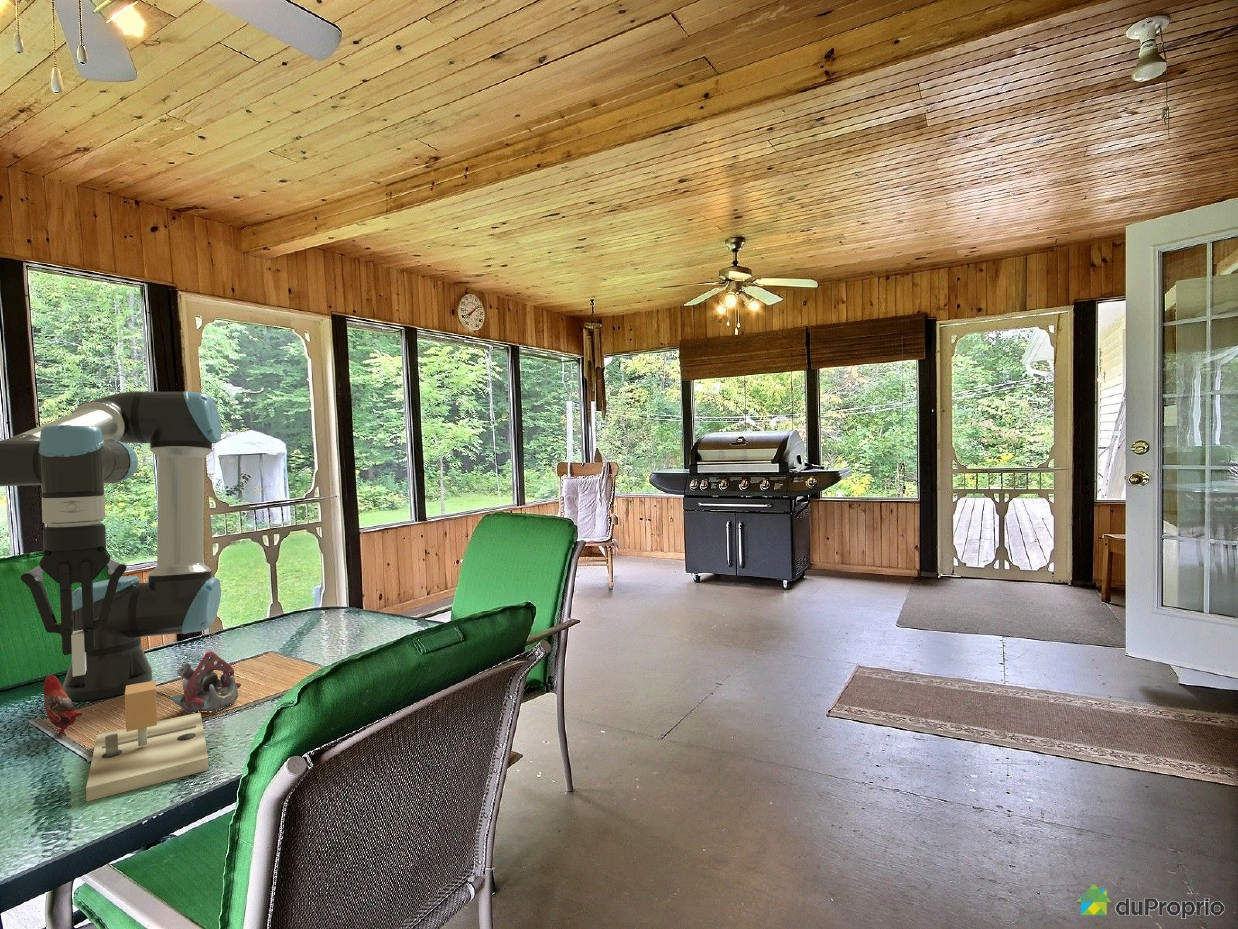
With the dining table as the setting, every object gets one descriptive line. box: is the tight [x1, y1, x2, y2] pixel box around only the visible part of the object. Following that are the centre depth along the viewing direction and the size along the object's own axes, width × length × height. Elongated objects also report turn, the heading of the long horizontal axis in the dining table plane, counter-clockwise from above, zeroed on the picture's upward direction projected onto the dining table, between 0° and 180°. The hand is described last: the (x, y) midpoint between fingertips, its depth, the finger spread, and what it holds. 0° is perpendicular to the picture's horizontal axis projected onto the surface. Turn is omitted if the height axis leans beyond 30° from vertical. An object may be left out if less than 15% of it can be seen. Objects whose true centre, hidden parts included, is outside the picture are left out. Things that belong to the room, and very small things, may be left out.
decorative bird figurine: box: [43, 674, 84, 736], centre depth 115 cm, size 3×18×10 cm, turn 57°
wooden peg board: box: [85, 712, 209, 802], centre depth 107 cm, size 22×15×5 cm
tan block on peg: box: [124, 679, 158, 746], centre depth 106 cm, size 5×4×10 cm
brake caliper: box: [170, 650, 242, 713], centre depth 128 cm, size 11×11×12 cm
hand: (79, 673), depth 101 cm, fingers closed
